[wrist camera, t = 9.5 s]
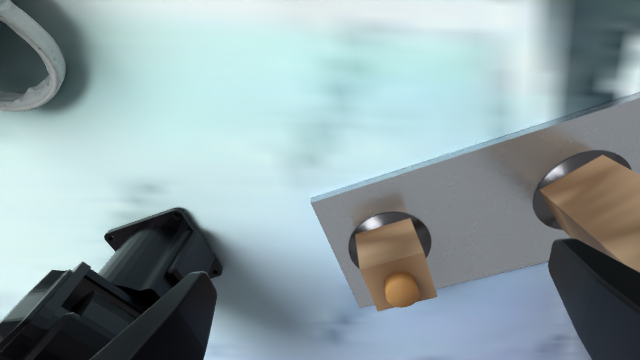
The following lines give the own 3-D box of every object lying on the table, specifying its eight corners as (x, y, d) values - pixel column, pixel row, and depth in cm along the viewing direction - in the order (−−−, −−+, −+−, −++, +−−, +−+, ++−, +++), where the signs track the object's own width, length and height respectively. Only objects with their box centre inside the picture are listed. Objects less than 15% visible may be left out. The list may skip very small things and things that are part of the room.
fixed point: (371, 273, 25) (380, 324, 21) (354, 234, 23) (361, 281, 19) (422, 259, 24) (442, 309, 20) (410, 218, 22) (428, 264, 19)
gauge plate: (359, 302, 28) (360, 309, 27) (311, 198, 23) (310, 203, 22) (634, 232, 24) (643, 238, 23) (648, 89, 19) (658, 92, 18)
